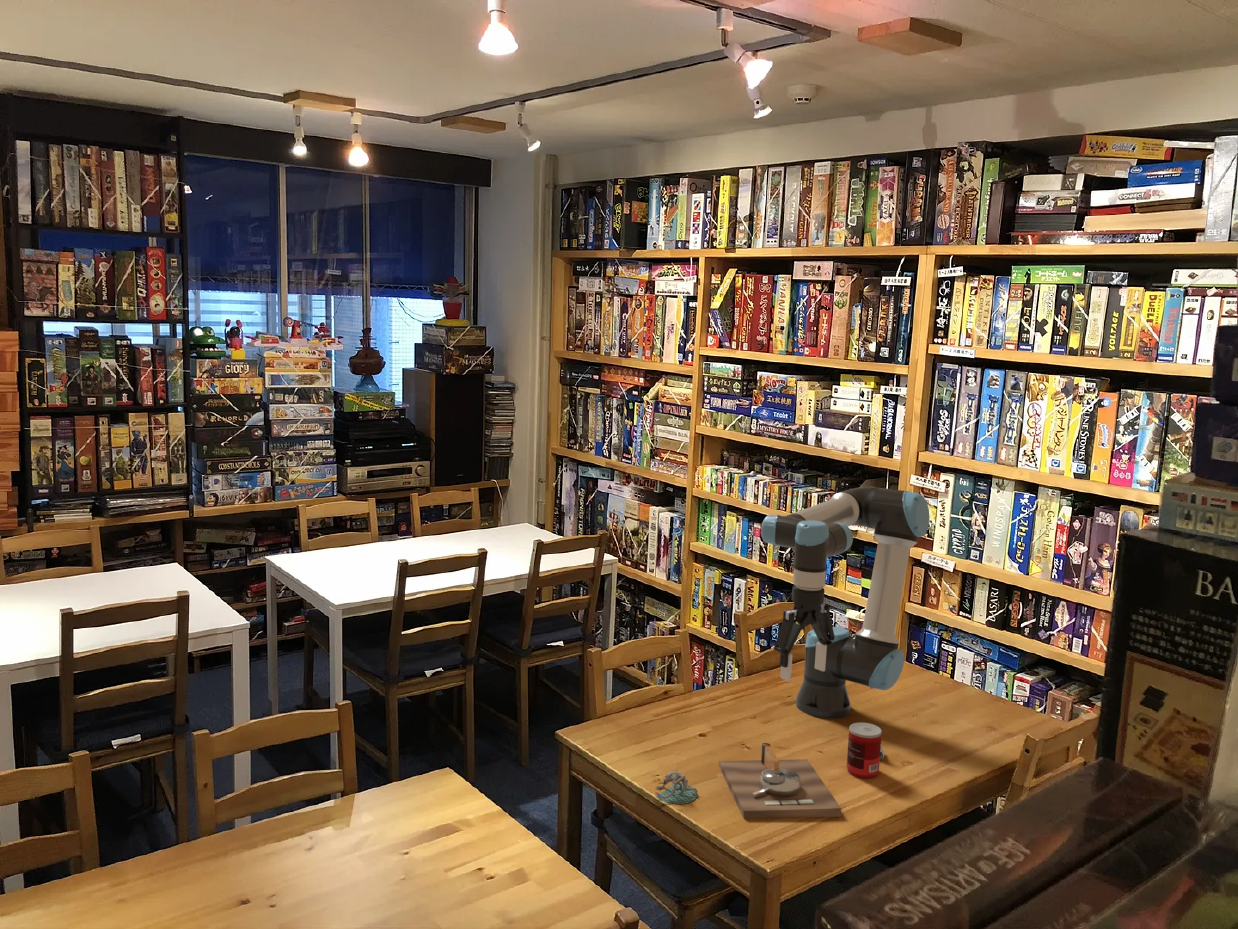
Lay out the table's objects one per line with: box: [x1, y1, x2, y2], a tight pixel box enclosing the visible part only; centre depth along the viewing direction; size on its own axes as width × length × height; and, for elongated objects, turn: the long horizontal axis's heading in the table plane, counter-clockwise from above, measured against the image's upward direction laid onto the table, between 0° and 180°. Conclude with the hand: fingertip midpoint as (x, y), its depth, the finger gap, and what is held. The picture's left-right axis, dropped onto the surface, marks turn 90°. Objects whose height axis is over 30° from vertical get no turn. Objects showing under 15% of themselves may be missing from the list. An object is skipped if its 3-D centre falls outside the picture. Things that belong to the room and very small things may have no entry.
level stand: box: [718, 758, 842, 820], centre depth 220 cm, size 24×22×2 cm
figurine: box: [654, 768, 699, 806], centre depth 216 cm, size 11×12×6 cm
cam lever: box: [752, 742, 801, 797], centre depth 222 cm, size 18×12×5 cm
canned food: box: [846, 722, 883, 779], centre depth 231 cm, size 8×8×11 cm
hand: (802, 674), depth 229 cm, fingers open, 11 cm apart
